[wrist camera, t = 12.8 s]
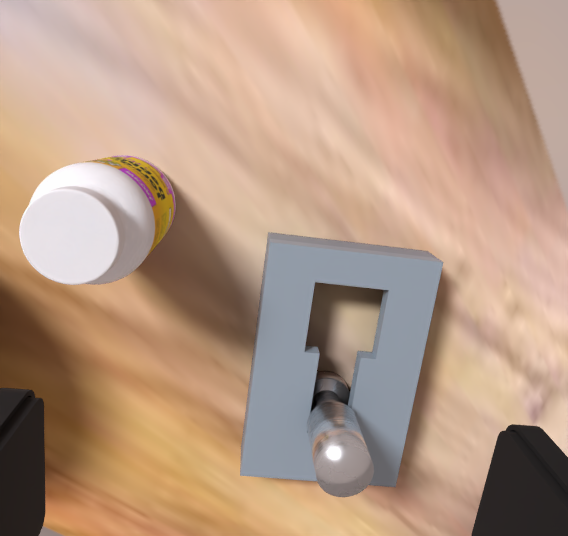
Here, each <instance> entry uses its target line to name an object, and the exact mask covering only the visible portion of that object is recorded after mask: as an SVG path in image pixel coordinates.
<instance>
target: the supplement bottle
mask: <svg viewBox="0 0 568 536" xmlns="http://www.w3.org/2000/svg"><path fill="white" fill-rule="evenodd" d="M175 210H176V201H175V195H174V191H173V188H172V186H171V184H170V182H169V180H168V179H167V177H166V176H165V175H164V173H163V172H162V171H161V170H160V169H159V168H157V167H156V166H155V165H153V164H152V163H150V162H148V161H147V160H144V159H142V158H138V157H134V156H113V157H108V158H103V159H98V160H92V161H87V162H81V163H76V164H72V165H68V166H65V167H63V168H60V169H58V170H56V171H55V172H53V173H52V174H50V175H49V176H48V177H46V178H45V179H44V180H43V181H42V182H41V184H40V185H39V186H38V187H37V189H36V191H35V192H34V194H33V196H32V198H31V201H30V204H29V206H28V207H27V209H26V210H25V212H24V214H23V217H22V219H21V223H20V230H19V236H20V243H21V247H22V249H23V252H24V254H25V256H26V258H27V260H28V261H29V262H30V264H31V265H32V266H33V267H34V268H35V269H36V270H37V271H38V272H39V273H41V274H42V275H44V276H45V277H47V278H48V279H50V280H53V281H55V282H58V283H62V284H69V285H79V284H106V283H110V282H114V281H117V280H119V279H121V278H124V277H126V276H127V275H129V274H130V273H132V272H133V271H134V270H135V269H136V268H137V267H138V266H139V265H140V264H141V263H142V262H143V261H144V260H145V259H146V257H147V256H148V255H149V254H150V253H151V252H152V250H153V249H154V248H155V247H156V246H157V244H158V243H159V242H160V241H161V240H162V238H163V237H164V236H165V235H166V233H167V232H168V230H169V229H170V227H171V225H172V223H173V220H174V216H175Z"/></svg>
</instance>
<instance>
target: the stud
mask: <svg viewBox="0 0 568 536" xmlns="http://www.w3.org/2000/svg"><path fill="white" fill-rule="evenodd" d="M349 397H350V392H349V389H348V386H347V384H346V382H345V381H344V379H343V378H342V377H341V376H339V375H338V374H336V373H333V372H329V371H320V372H317V374H316V380H315V386H314V392H313V399H312V405H311V411H310V415H309V417H308V420H307V431H308V436H309V441H310V446H311V452H312V457H313V462H314V468H315V473H316V478H317V481H318V484H319V485H320V487H321V488H322V489H323V490H324V491H325V492H327V493H328V494H330V495H333V496H337V497H349V496H353V495H356V494H358V493H360V492H361V491H363V490H364V489H365V488H366V487H367V486H368V485H369V483H370V482H371V480H372V478H373V474H374V466H373V463H372V460H371V457H370V454H369V452H368V449H367V446H366V443H365V441H364V438H363V435H362V432H361V430H360V427H359V424H358V421H357V419H356V416H355V414H354V412H353V410H352V409H351V408H350V407H349V406H348V402H349Z"/></svg>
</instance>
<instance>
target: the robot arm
mask: <svg viewBox="0 0 568 536" xmlns="http://www.w3.org/2000/svg"><path fill="white" fill-rule="evenodd" d="M44 517H45V453H44V402H43V399H41V398H35V394H34V392H33V391H32V390H25V389H11V388H0V536H38V535H39V534H40V531H41V529H42V526H43V522H44ZM472 536H568V457H567V456H566V455H565V454H564V453H563V452H562V450H561V449H560V448H559V447H558V446H557V445H556V444H555V443H554V442H553V440H552V439H551V438H550V437H549V436H548V435H547V434H546V433H545V431H544V430H543V429H541V428H540V427H537V426H526V425H510V426H508V428H507V429H506V431H502V432H500V433H499V435H498V438H497V442H496V446H495V449H494V453H493V457H492V460H491V464H490V468H489V472H488V475H487V479H486V483H485V486H484V490H483V494H482V498H481V501H480V505H479V509H478V513H477V516H476V520H475V524H474V527H473V531H472Z"/></svg>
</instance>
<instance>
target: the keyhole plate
mask: <svg viewBox="0 0 568 536" xmlns="http://www.w3.org/2000/svg"><path fill="white" fill-rule="evenodd" d="M442 266H443V262H442V261H441V260H439V259H438V258H436V257H435V256H434V255H432V254H431V253H429V252H428V251H422V250H413V249H405V248H396V247H388V246H379V245H371V244H362V243H354V242H345V241H337V240H328V239H320V238H311V237H303V236H294V235H286V234H277V233H269V232H268V239H267V247H266V255H265V263H264V271H263V279H262V287H261V295H260V303H259V310H258V318H257V326H256V334H255V342H254V350H253V358H252V366H251V374H250V382H249V390H248V398H247V406H246V413H245V421H244V429H243V437H242V445H241V468H240V476H254V477H267V478H280V479H294V480H307V481H317V478H316V473H315V468H314V462H313V457H312V452H311V446H310V441H309V436H308V431H307V420H308V417H309V415H310V411H311V405H312V399H313V392H314V386H315V380H316V374H317V367H318V361H319V355H320V353H319V350H318V347H313V346H305V345H306V338H307V332H308V325H309V319H310V312H311V305H312V299H313V292H314V286H315V282H318V283H327V284H336V285H346V286H355V287H364V288H373V289H382V290H384V292H383V297H382V303H381V308H380V313H379V319H378V324H377V329H376V335H375V340H374V345H373V351H372V352H364V351H358V352H357V357H356V363H355V369H354V374H353V380H352V385H351V391H350V397H349V402H348V406H349V407H350V408H351V409H352V410H353V412H354V414H355V416H356V419H357V421H358V424H359V427H360V430H361V432H362V435H363V438H364V441H365V443H366V446H367V449H368V452H369V454H370V457H371V460H372V463H373V466H374V474H373V478H372V480H371V482H370V483H369V485H374V486H387V487H396V482H397V478H398V473H399V468H400V464H401V459H402V454H403V449H404V445H405V440H406V435H407V431H408V426H409V421H410V417H411V412H412V407H413V402H414V398H415V393H416V388H417V384H418V379H419V374H420V370H421V365H422V360H423V355H424V351H425V346H426V341H427V337H428V332H429V327H430V323H431V318H432V313H433V308H434V304H435V299H436V294H437V290H438V285H439V280H440V276H441V271H442Z"/></svg>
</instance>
